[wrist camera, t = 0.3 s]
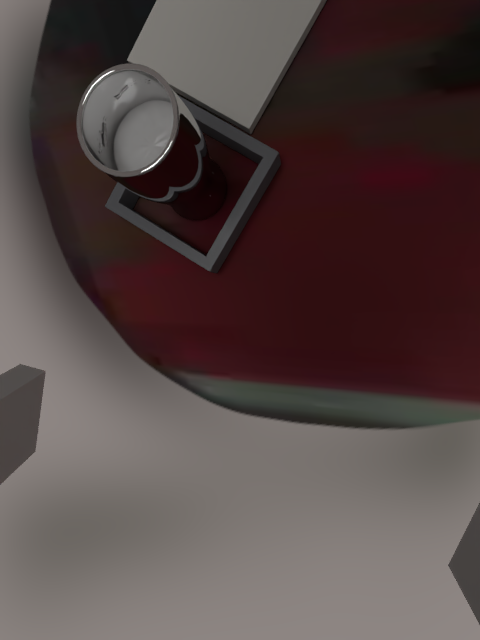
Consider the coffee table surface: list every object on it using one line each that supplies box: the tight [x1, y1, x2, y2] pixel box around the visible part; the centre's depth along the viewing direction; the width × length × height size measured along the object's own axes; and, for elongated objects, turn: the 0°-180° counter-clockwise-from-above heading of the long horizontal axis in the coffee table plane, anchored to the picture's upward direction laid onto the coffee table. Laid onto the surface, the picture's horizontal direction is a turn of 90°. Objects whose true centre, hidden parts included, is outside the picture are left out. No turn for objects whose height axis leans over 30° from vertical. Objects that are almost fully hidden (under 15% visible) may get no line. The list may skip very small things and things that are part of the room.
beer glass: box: [77, 63, 227, 220], centre depth 30 cm, size 7×7×15 cm
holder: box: [105, 96, 281, 273], centre depth 35 cm, size 12×12×3 cm
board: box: [127, 0, 327, 134], centre depth 35 cm, size 16×14×1 cm
